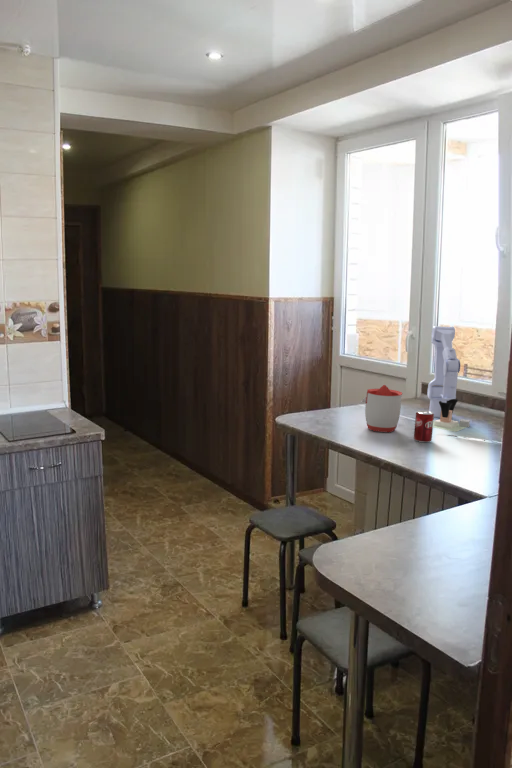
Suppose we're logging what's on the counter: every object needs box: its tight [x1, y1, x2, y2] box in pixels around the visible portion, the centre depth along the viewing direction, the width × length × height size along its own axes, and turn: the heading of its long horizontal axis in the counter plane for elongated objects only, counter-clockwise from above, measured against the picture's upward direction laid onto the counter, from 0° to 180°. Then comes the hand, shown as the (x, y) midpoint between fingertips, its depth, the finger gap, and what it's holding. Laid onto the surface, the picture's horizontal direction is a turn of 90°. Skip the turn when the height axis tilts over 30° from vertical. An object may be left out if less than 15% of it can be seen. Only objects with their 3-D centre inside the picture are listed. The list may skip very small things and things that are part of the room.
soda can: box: [413, 410, 435, 443], centre depth 268 cm, size 7×7×12 cm
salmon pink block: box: [439, 410, 453, 422], centre depth 293 cm, size 4×4×5 cm
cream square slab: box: [433, 418, 460, 428], centre depth 293 cm, size 8×8×2 cm
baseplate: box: [433, 419, 468, 433], centre depth 293 cm, size 16×16×1 cm
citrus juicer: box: [360, 384, 403, 433], centre depth 283 cm, size 16×17×20 cm
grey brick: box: [459, 418, 471, 428], centre depth 294 cm, size 4×4×2 cm
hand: (447, 416), depth 292 cm, fingers open, 6 cm apart
